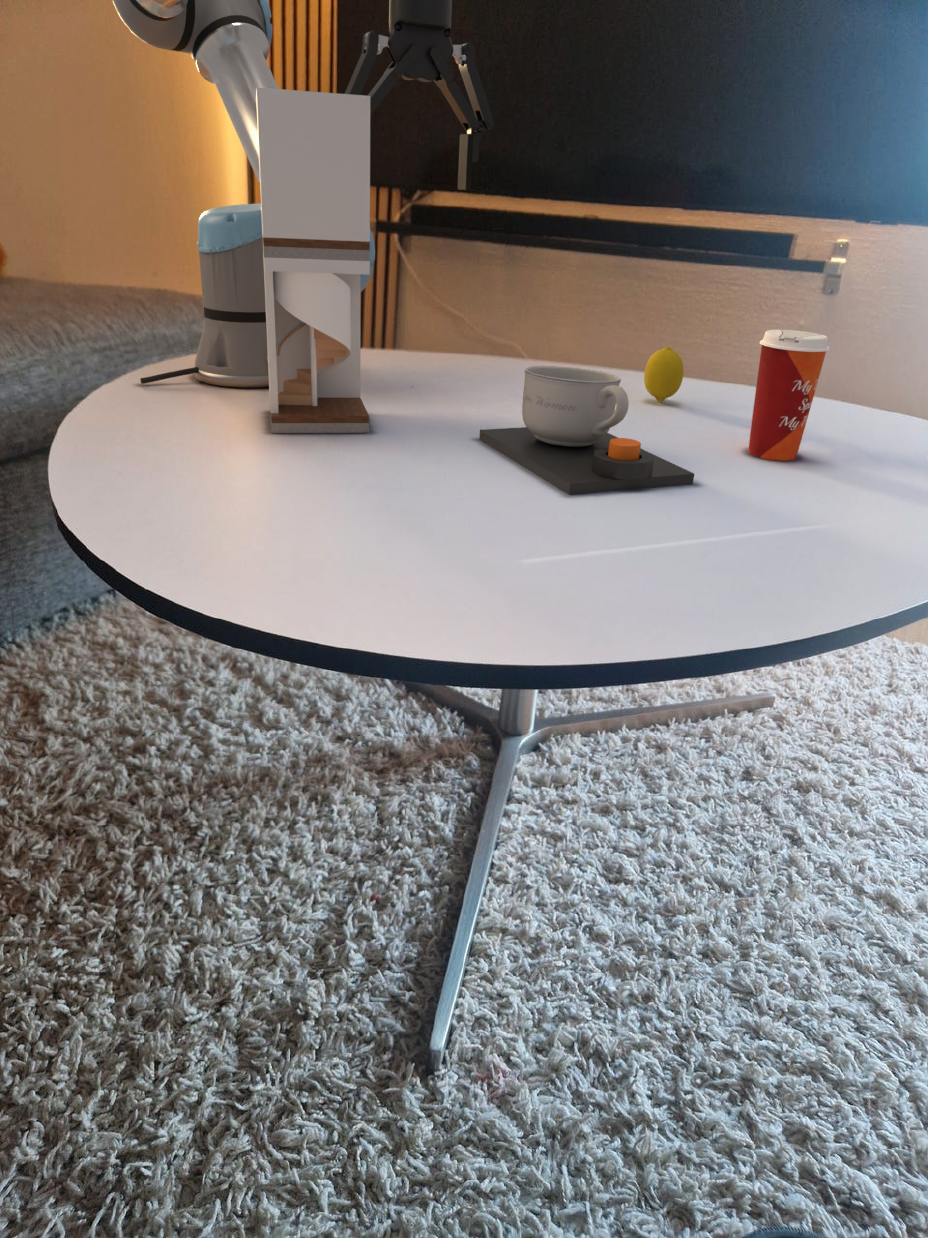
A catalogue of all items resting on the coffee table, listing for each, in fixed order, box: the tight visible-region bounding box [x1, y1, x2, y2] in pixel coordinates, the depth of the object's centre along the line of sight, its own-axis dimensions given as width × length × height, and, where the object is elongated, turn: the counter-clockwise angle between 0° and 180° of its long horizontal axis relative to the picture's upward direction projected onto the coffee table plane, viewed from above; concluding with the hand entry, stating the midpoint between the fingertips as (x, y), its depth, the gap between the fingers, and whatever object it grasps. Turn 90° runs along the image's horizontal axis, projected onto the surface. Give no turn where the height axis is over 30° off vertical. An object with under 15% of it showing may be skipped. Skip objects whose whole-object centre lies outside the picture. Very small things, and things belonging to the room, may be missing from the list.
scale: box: [478, 426, 695, 496], centre depth 100 cm, size 15×22×3 cm, turn 23°
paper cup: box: [748, 329, 831, 462], centre depth 105 cm, size 8×8×14 cm
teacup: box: [521, 365, 630, 447], centre depth 101 cm, size 14×11×8 cm
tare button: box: [608, 437, 642, 460], centre depth 92 cm, size 3×3×2 cm
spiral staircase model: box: [256, 88, 371, 434], centre depth 103 cm, size 11×11×35 cm
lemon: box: [643, 345, 684, 403], centre depth 130 cm, size 6×6×8 cm
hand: (416, 187), depth 116 cm, fingers open, 13 cm apart
